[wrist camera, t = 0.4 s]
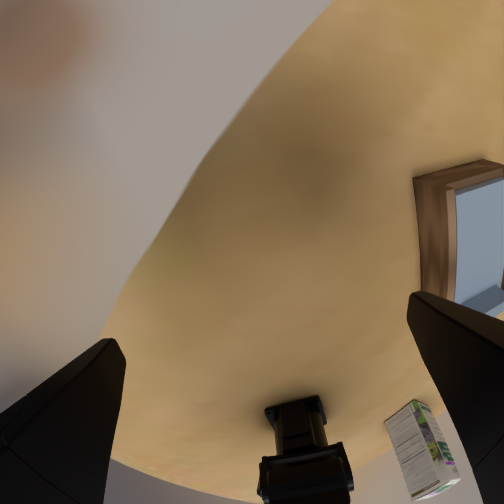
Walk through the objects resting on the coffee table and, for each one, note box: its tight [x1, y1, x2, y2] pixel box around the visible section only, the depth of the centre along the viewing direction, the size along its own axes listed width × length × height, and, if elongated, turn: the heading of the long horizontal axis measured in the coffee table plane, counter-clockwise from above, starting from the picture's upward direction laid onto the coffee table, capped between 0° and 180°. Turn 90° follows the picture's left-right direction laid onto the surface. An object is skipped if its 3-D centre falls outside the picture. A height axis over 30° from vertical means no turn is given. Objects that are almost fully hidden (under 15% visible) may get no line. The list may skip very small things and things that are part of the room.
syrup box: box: [385, 400, 461, 502], centre depth 27 cm, size 6×6×14 cm
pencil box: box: [413, 159, 504, 302], centre depth 20 cm, size 14×9×5 cm, turn 18°
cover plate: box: [454, 177, 504, 317], centre depth 18 cm, size 12×7×3 cm, turn 18°
